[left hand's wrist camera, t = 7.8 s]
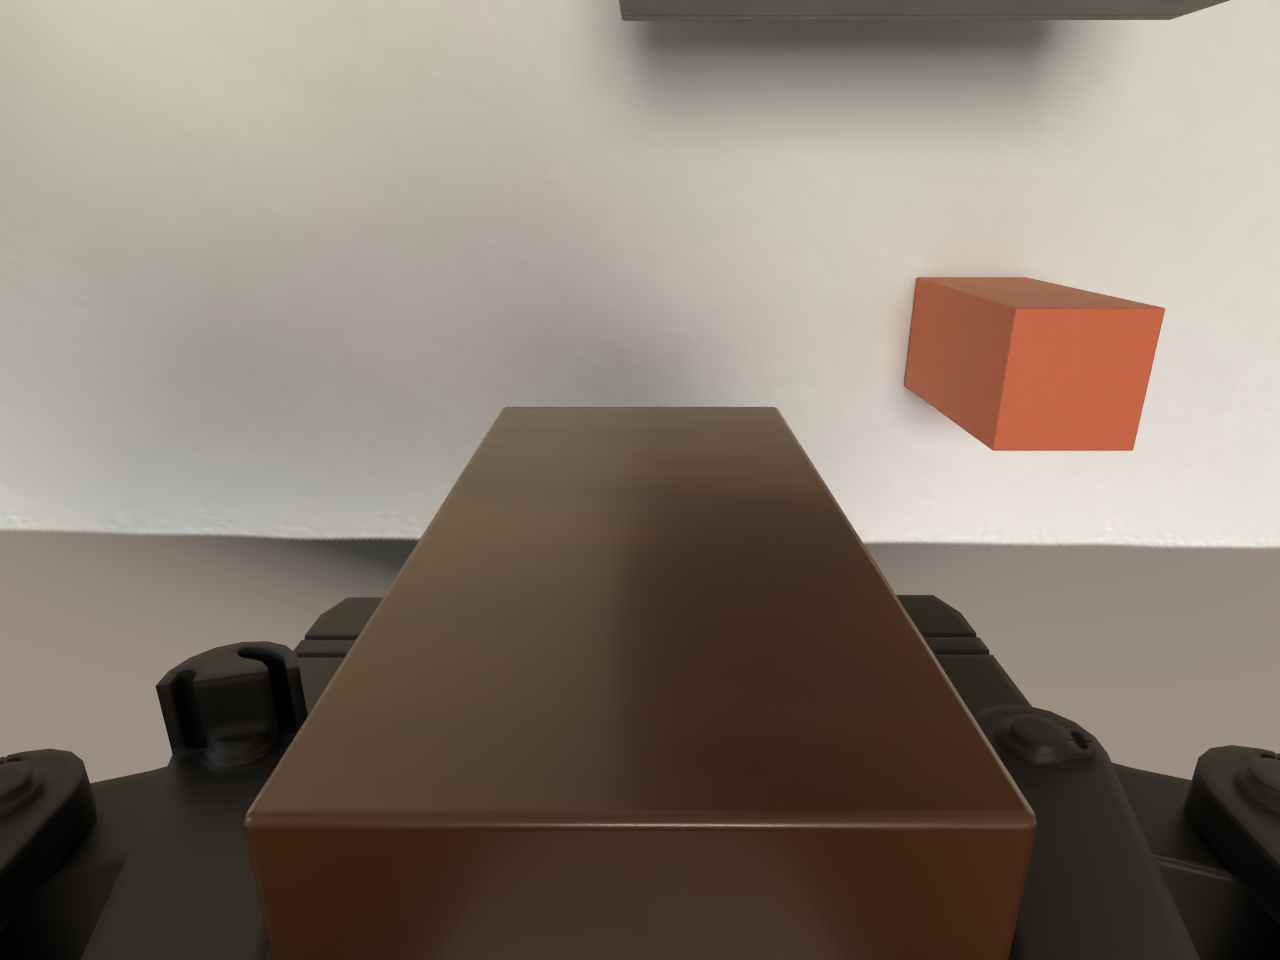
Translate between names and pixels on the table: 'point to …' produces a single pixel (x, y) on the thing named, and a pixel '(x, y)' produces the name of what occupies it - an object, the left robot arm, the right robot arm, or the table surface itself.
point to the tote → (909, 9)
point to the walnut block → (640, 726)
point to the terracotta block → (1032, 362)
